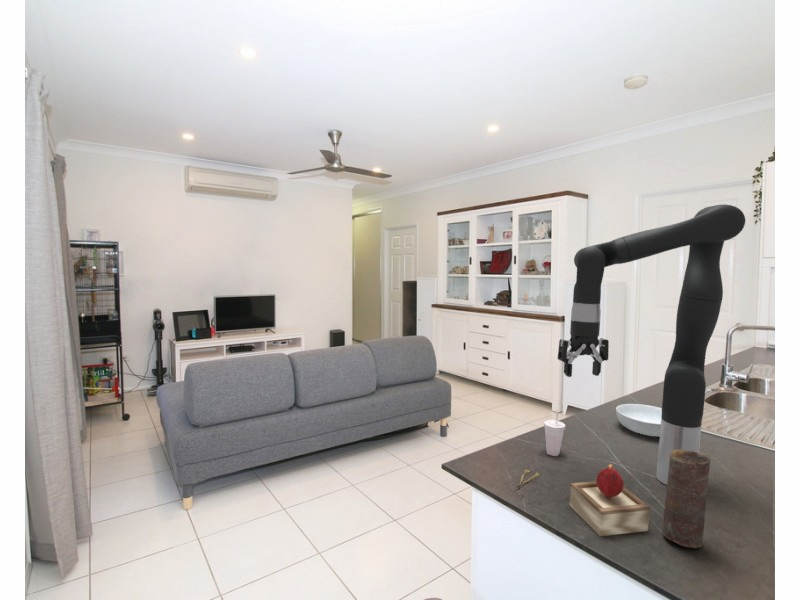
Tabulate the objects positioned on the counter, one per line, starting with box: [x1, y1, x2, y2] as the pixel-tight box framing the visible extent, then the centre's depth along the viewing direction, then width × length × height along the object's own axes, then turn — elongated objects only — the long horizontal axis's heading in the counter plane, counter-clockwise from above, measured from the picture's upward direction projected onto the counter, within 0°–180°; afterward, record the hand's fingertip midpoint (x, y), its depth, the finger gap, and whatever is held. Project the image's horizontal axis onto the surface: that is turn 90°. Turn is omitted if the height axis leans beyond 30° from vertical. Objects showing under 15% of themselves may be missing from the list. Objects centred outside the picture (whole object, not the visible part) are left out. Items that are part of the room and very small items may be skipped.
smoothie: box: [543, 410, 566, 457], centre depth 135 cm, size 6×6×14 cm
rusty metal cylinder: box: [662, 449, 711, 549], centre depth 93 cm, size 8×7×20 cm
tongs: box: [515, 469, 541, 491], centre depth 119 cm, size 4×13×2 cm, turn 147°
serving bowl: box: [615, 403, 662, 438], centre depth 154 cm, size 21×21×7 cm
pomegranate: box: [595, 464, 624, 498], centre depth 102 cm, size 6×6×8 cm
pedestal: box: [569, 480, 651, 537], centre depth 102 cm, size 12×12×6 cm
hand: (581, 375), depth 122 cm, fingers open, 8 cm apart
